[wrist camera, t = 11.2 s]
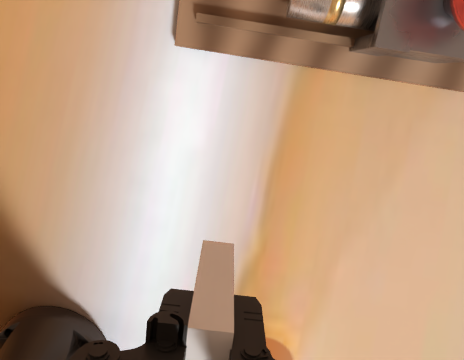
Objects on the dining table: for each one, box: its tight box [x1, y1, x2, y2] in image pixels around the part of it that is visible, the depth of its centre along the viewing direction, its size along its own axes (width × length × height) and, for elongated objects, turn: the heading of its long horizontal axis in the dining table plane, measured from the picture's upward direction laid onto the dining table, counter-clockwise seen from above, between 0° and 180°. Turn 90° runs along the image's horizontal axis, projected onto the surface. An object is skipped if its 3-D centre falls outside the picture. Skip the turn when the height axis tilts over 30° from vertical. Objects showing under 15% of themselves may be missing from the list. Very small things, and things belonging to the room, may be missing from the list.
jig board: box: [175, 0, 464, 92], centre depth 37 cm, size 32×13×2 cm, turn 81°
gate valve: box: [350, 0, 464, 63], centre depth 32 cm, size 13×9×13 cm, turn 81°
